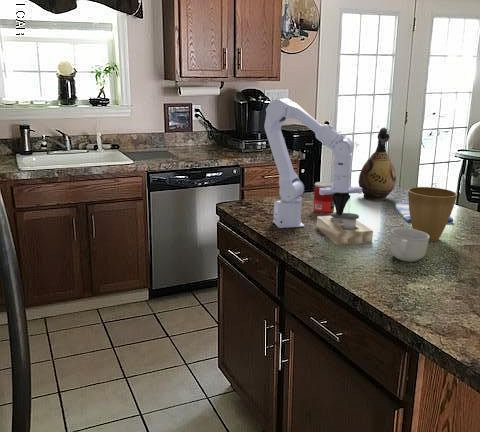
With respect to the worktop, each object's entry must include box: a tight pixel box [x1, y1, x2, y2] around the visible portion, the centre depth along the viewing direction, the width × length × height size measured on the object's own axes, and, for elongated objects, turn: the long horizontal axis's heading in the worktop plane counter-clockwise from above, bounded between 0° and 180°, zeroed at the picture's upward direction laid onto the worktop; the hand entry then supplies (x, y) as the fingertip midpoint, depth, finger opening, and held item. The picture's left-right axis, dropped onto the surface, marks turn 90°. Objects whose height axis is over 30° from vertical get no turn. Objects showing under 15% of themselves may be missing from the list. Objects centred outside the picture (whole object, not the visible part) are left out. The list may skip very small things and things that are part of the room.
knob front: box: [341, 212, 360, 230], centre depth 171 cm, size 6×6×4 cm
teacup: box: [389, 227, 430, 263], centre depth 153 cm, size 14×11×8 cm
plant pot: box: [407, 186, 458, 243], centre depth 171 cm, size 15×15×16 cm
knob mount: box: [316, 215, 374, 246], centre depth 176 cm, size 12×19×4 cm, turn 12°
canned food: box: [313, 181, 335, 215], centre depth 204 cm, size 8×8×11 cm
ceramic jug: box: [358, 127, 397, 202], centre depth 223 cm, size 17×15×30 cm
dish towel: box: [394, 201, 454, 225], centre depth 202 cm, size 17×24×3 cm
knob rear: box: [330, 211, 345, 222], centre depth 180 cm, size 6×6×4 cm
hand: (339, 214), depth 179 cm, fingers closed, pressing on knob rear
